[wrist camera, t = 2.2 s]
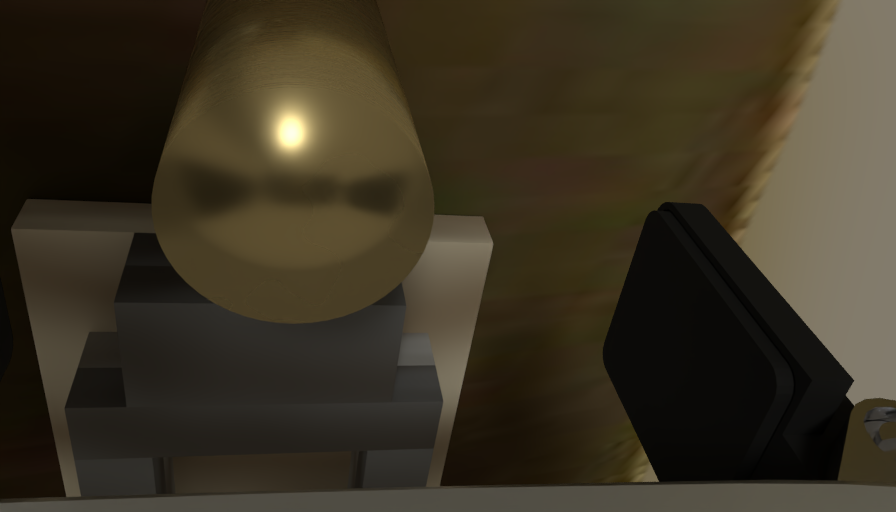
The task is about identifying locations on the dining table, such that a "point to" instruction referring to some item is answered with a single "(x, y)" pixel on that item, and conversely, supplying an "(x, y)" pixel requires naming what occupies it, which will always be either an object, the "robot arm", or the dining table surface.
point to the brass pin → (292, 163)
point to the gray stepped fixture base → (238, 365)
